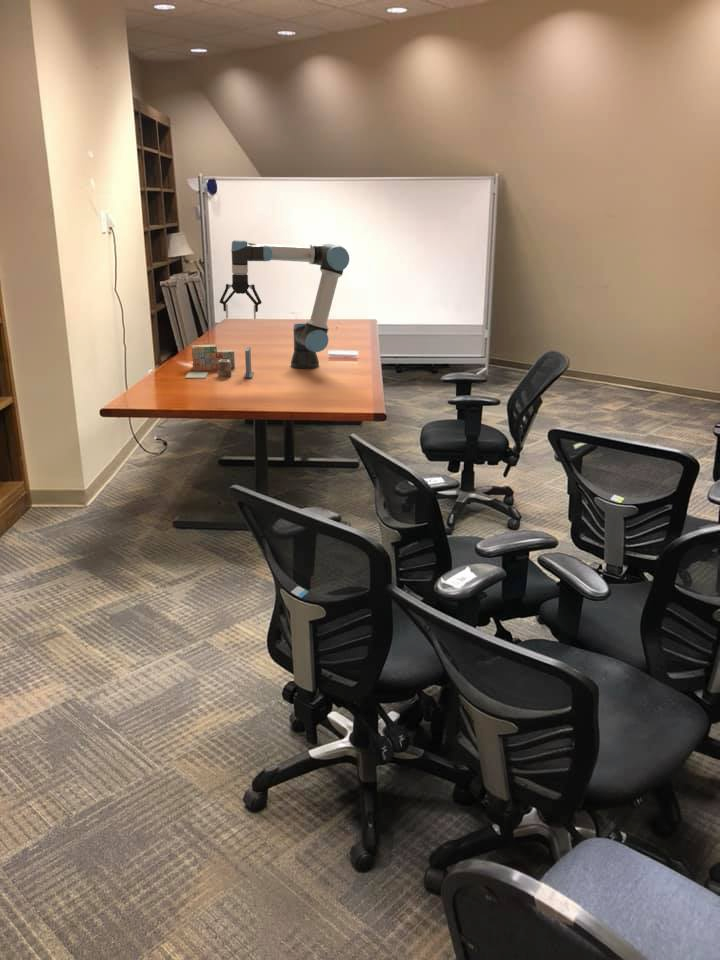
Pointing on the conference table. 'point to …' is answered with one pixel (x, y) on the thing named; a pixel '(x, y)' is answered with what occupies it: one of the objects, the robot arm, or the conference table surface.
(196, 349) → the stack of blocks
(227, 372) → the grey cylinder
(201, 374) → the pad
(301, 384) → the conference table surface
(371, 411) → the conference table surface
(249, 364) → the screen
